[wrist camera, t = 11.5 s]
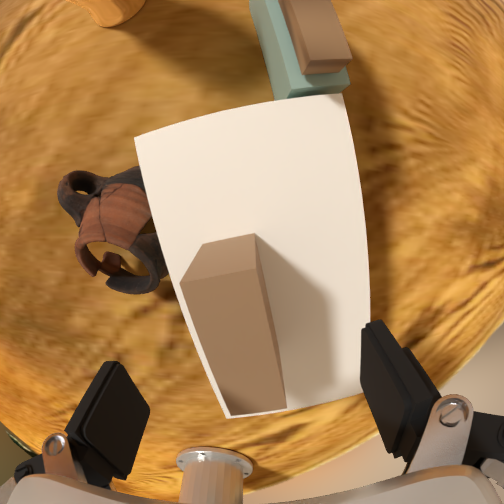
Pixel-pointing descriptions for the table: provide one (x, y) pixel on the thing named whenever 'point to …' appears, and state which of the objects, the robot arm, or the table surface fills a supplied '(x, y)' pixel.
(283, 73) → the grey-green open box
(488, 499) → the robot arm
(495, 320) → the table surface
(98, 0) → the beer glass
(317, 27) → the brown rectangular block
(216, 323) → the lid
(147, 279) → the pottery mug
